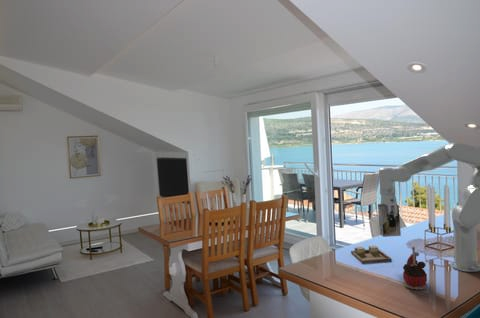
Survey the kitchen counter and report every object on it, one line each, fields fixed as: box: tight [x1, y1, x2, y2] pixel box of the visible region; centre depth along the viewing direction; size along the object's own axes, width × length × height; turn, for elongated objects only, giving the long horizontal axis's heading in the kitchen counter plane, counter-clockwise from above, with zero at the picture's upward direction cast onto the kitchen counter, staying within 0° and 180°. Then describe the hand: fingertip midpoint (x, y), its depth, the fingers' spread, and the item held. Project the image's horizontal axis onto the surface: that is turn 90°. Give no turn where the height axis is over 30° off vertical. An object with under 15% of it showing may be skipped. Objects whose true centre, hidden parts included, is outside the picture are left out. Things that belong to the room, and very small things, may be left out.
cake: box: [402, 246, 428, 290], centre depth 164 cm, size 11×9×18 cm
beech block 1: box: [354, 245, 366, 256], centre depth 210 cm, size 4×4×4 cm
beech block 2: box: [368, 245, 379, 255], centre depth 210 cm, size 4×4×4 cm
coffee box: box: [377, 203, 402, 238], centre depth 191 cm, size 9×6×16 cm
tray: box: [350, 248, 393, 264], centre depth 204 cm, size 18×16×2 cm
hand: (389, 225), depth 191 cm, fingers closed on coffee box, 6 cm apart
